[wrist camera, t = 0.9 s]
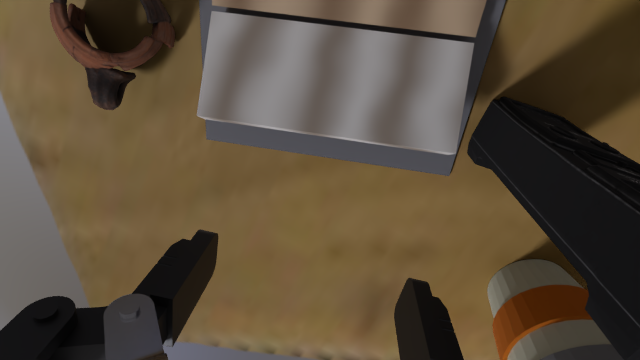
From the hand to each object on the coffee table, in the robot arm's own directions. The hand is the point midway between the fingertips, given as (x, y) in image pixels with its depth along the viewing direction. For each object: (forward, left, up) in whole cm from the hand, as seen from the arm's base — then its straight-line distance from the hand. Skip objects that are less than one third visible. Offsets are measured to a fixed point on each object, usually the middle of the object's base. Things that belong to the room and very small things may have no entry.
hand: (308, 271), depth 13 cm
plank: (+1, -4, -19) cm, 20 cm away
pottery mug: (+22, -5, -22) cm, 31 cm away
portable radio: (-17, -1, -22) cm, 27 cm away
